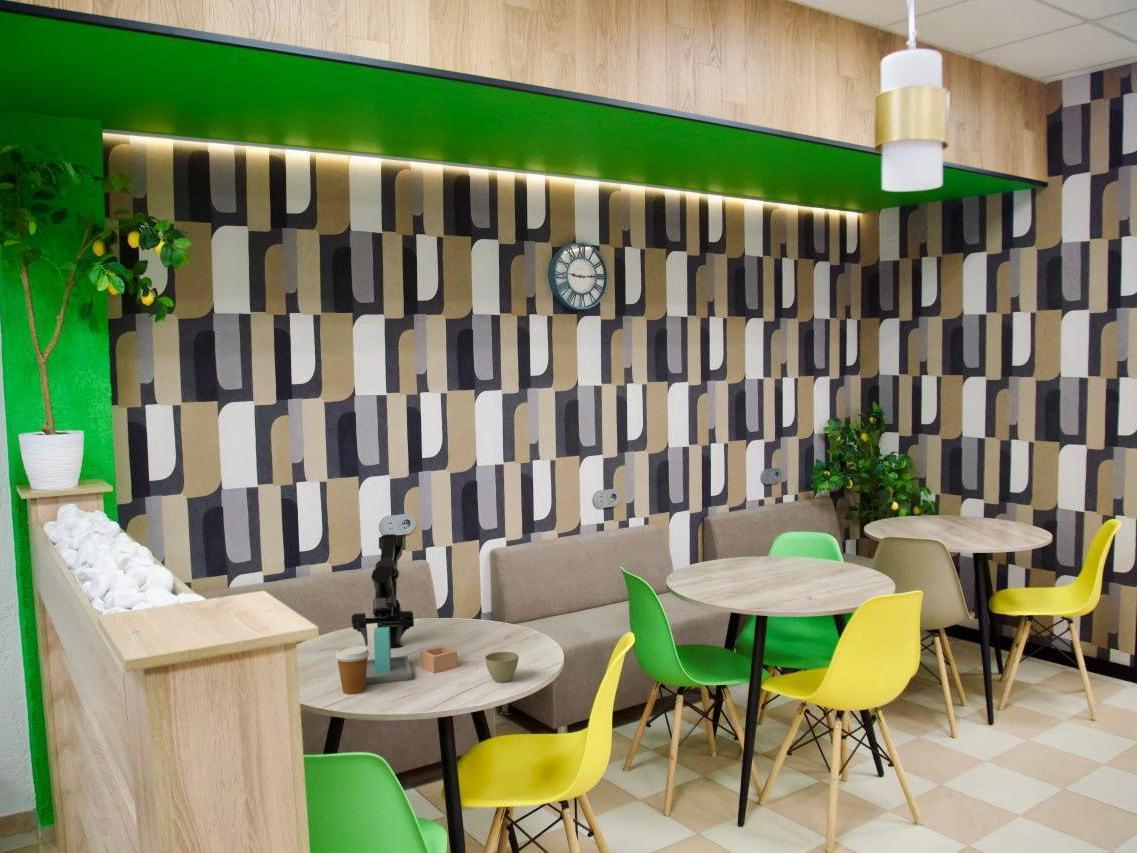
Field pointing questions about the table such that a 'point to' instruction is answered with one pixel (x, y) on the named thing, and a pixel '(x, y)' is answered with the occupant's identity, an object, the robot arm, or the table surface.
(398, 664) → the tray
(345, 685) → the disposable coffee cup
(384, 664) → the teal block
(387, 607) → the robot arm
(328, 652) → the table surface
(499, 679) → the flower pot
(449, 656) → the holder
